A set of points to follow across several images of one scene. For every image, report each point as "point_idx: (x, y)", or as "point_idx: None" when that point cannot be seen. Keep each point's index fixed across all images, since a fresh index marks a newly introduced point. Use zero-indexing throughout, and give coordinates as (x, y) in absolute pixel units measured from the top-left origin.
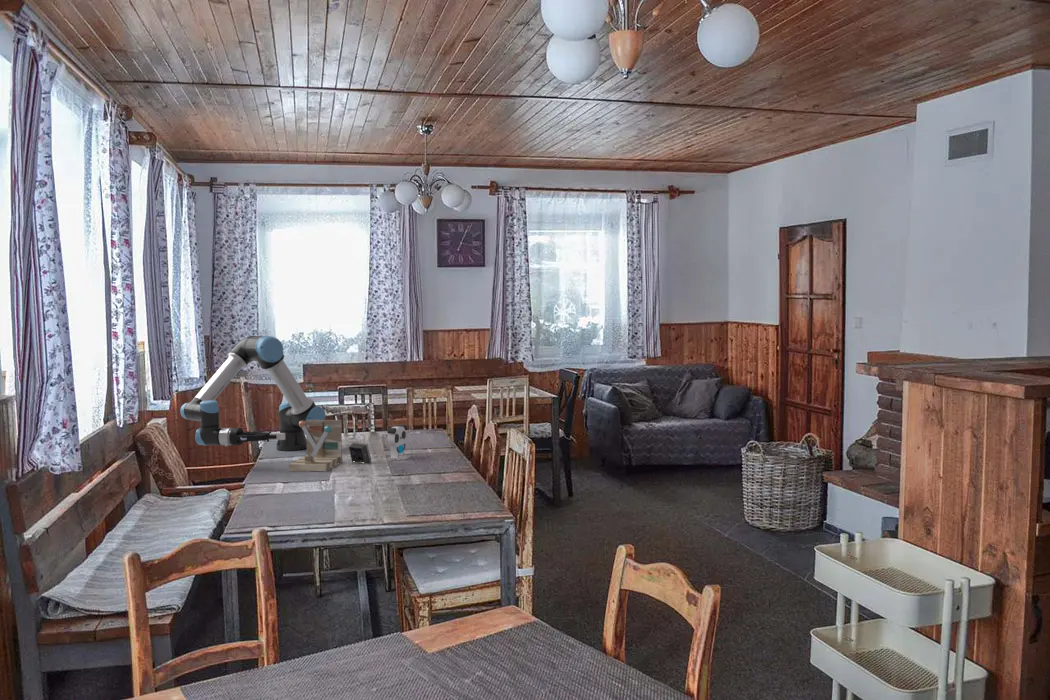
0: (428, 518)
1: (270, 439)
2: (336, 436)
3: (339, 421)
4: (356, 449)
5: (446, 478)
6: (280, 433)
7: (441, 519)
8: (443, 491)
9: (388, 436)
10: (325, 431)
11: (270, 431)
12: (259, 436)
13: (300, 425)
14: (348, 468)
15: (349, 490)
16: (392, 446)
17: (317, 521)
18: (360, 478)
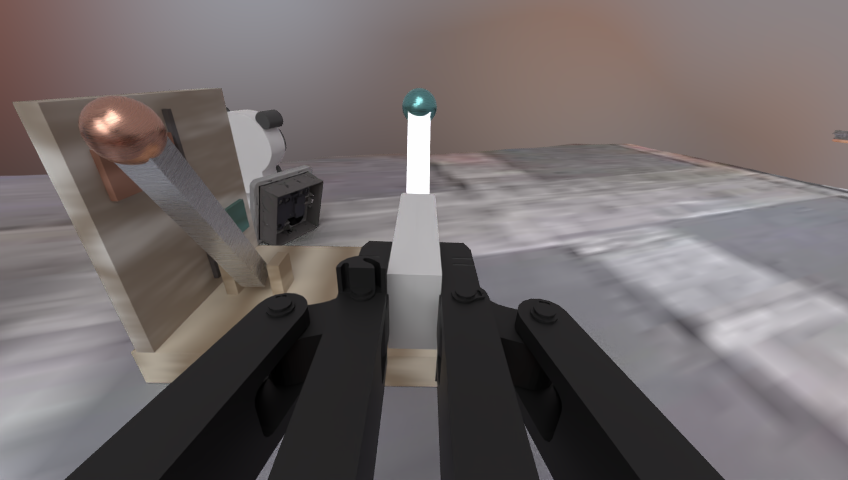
0: (694, 160)
1: (436, 335)
2: (229, 174)
3: (219, 94)
4: (285, 197)
5: (473, 161)
6: (423, 208)
7: (686, 156)
8: (557, 160)
9: (269, 138)
10: (430, 117)
11: (357, 260)
12: (617, 387)
13: (154, 142)
14: (388, 240)
15: (636, 209)
16: (270, 167)
17: None
18: (514, 212)
